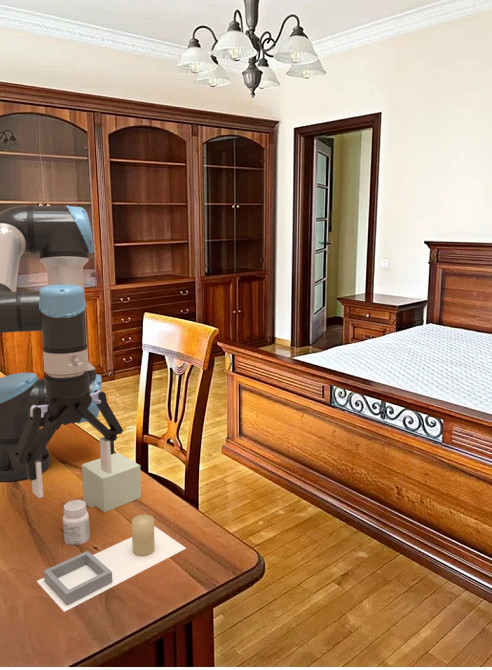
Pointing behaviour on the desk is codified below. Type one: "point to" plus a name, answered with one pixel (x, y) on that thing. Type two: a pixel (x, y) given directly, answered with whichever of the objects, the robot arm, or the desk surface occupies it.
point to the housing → (111, 483)
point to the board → (108, 565)
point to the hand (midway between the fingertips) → (73, 482)
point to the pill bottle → (76, 522)
